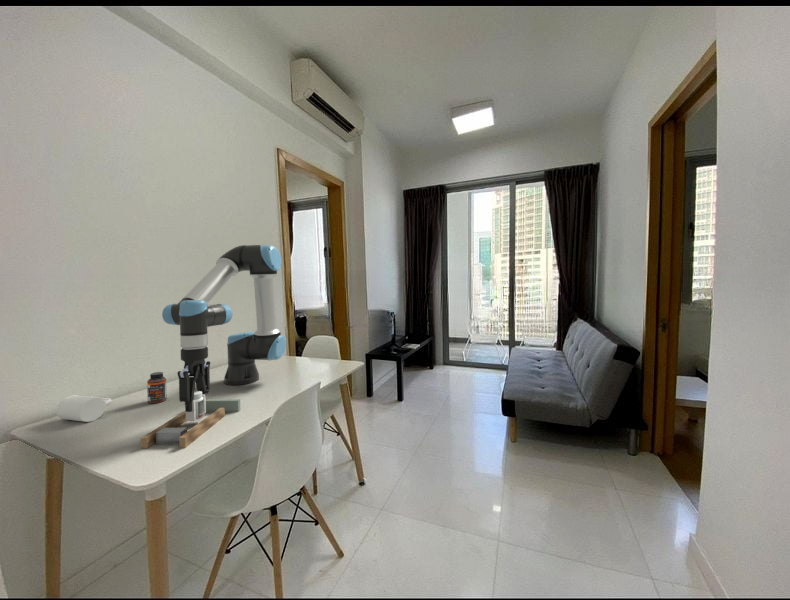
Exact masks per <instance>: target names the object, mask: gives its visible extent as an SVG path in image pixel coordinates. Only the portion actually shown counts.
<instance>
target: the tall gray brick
mask: <svg viewBox="0 0 790 600" xmlns="http://www.w3.org/2000/svg"><path fill="white" fill-rule="evenodd" d="M186 432H188V427H178V428H162V429H161V430H159V431H158V432H156V443H155V445H180V444H179V437H181V436H182V435H183V434H185V433H186Z"/></svg>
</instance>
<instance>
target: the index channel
mask: <svg viewBox="0 0 790 600" xmlns="http://www.w3.org/2000/svg"><path fill="white" fill-rule="evenodd" d="M224 417H226V412H225V408H219V409H218V410H216V411H215V412H211V414H209V415H208V416H207V417H205V418H204V419H203V420H201V421H200V422H198V423H197V424H196V425H194V426H193V427H192V428H191V429H189V430H187V432H186V433H185V434H183V435H182V436H181V437H179V444H178V445H179V449H186V448H187V447H188V446H191V444H193V442H195V441H196V440H197V439H198V438H200V437H201V436H202V435H203V434H204V433H206V432H207V431H208V430H210V428H212V427H214V425H216V424H217V423H218V422H219V421H221V420H222V419H223V418H224ZM187 422H188V421H186V411H185V410H184V411H182V412H181V413H180V414H177V415H175V417H172V418H171V419H169V420H167V421H166V422H164V423H163V424H161V425H160V426H157V428H155V429H154V430H152V431H150V432H148V433H146V434H145V435H144V436H142V437H141V438H140V442H141V443H140V445H141V449H148V448H150V447H151V446H153V445H154V444H156V432H158V431H159V430H161V429H162V428H180V427H181V426H183V425H184V424H185V423H187Z"/></svg>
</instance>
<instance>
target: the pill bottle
mask: <svg viewBox="0 0 790 600" xmlns="http://www.w3.org/2000/svg"><path fill="white" fill-rule="evenodd" d="M193 400H195V404H196V420H195V421H197V420H200V419H202V418H203V417H204V416H205V414H204V398H203V397H202V391H197V390H195V391H194V399H193Z"/></svg>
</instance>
